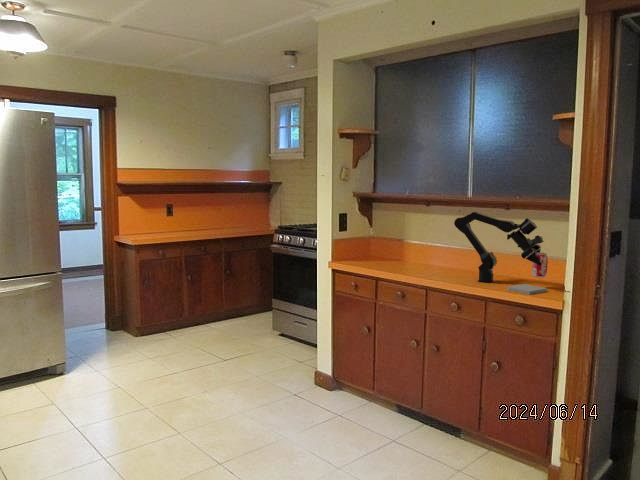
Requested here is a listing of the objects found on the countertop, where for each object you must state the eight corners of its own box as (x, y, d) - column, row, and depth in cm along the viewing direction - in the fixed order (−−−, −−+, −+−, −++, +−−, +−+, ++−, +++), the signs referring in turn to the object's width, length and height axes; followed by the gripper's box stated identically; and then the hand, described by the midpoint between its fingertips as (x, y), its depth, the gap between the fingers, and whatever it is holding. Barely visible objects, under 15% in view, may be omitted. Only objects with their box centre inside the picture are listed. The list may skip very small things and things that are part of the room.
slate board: (507, 289, 262) (507, 286, 262) (524, 286, 269) (524, 283, 269) (529, 294, 251) (529, 291, 251) (546, 291, 258) (546, 288, 257)
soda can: (548, 276, 267) (550, 253, 265) (543, 278, 261) (545, 254, 260) (534, 274, 271) (536, 251, 270) (529, 276, 266) (530, 253, 265)
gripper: (529, 232, 258) (551, 256, 253) (537, 228, 273) (559, 251, 269) (512, 246, 264) (533, 270, 259) (521, 242, 279) (542, 265, 274)
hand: (542, 264), depth 265 cm, fingers closed on soda can, 7 cm apart
